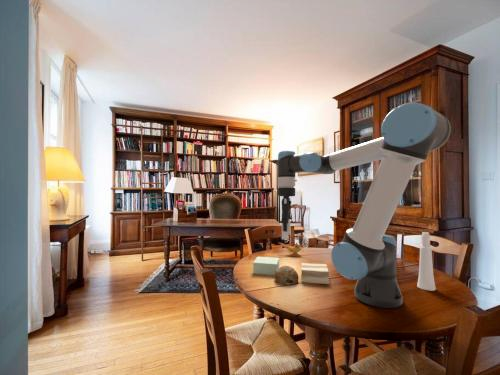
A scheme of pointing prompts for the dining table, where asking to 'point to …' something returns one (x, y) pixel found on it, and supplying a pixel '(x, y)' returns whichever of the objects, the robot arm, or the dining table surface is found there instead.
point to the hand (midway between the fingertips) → (286, 236)
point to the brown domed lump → (286, 275)
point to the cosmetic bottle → (426, 265)
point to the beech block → (315, 273)
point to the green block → (265, 265)
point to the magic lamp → (294, 248)
